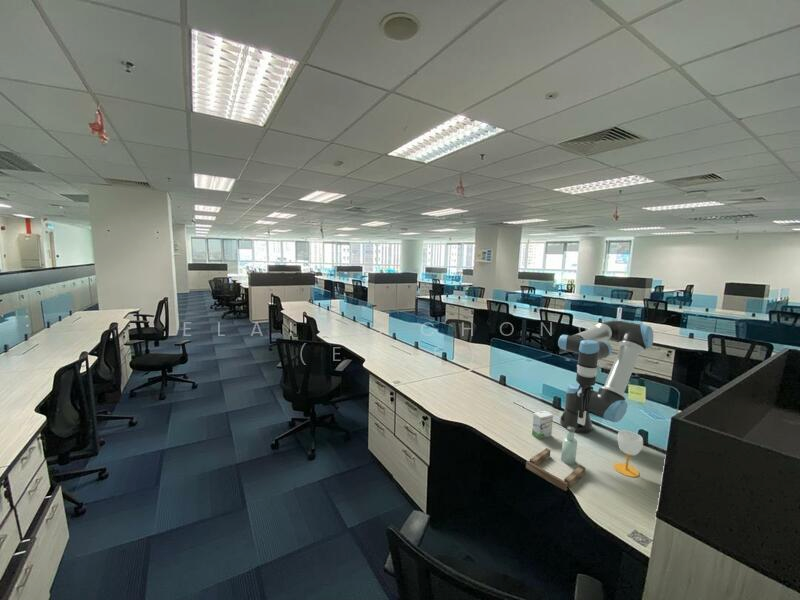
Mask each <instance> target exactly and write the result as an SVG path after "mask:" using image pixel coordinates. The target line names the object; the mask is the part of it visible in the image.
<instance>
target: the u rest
mask: <svg viewBox="0 0 800 600" xmlns="http://www.w3.org/2000/svg"><path fill="white" fill-rule="evenodd" d="M551 451H552V450H551V449H549V448H547V447H546V448H544V449H543V450H541V451H540V452H538V453H537V454H535V455H534V456H532V457H531V458H529V460H526V462H525V469H527V470H528V471H529V472H531V473H534V474H535V475H537V476H538V477H540V478H542V479H544V480H546V481H547V482H549V483H551V484H552V485H554V486H556V487H557V488H560V489H561V490H563V491H564V492H566V491H568V489H570V488H571V487H573V485H574V484H576V483H577V482H578V481H579V480H580V479H581V478H582V477H583V476H584V475H585V473H586V467H584V466H582V465H581V464H580V465H579V466H578V467H576V468H575V469H574V470H573V471H572V472H571V473H569V474H568V475H567V476H566V477H565V478H564V479H561V478H559V477H557V476H556V475H554V474H552V473H550V472H549V471H547V470H545V469H543V468H542V467H540V466H538V465H540V464H541V463H543V462H544V461H545V460H547V459H549V457H551ZM567 487H568V488H567Z"/></svg>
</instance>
